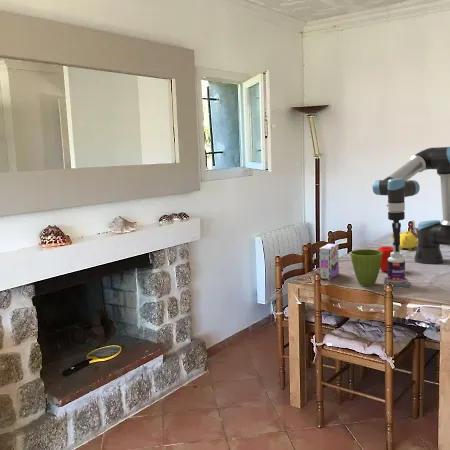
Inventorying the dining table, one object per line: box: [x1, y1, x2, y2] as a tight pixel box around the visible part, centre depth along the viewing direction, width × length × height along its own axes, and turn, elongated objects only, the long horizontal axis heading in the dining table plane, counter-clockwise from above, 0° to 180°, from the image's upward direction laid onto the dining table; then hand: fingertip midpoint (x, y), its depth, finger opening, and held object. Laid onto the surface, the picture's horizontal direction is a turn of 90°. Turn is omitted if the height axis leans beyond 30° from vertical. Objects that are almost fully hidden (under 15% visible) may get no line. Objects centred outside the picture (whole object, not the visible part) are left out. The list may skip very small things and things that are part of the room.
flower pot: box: [350, 248, 382, 287], centre depth 248 cm, size 15×15×16 cm
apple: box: [377, 246, 393, 272], centre depth 271 cm, size 12×12×13 cm
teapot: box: [390, 230, 418, 251], centre depth 324 cm, size 20×18×11 cm
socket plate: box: [383, 276, 410, 289], centre depth 246 cm, size 11×11×2 cm
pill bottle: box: [386, 251, 406, 283], centre depth 245 cm, size 8×8×14 cm
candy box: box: [318, 243, 340, 281], centre depth 265 cm, size 14×6×16 cm, turn 148°
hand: (396, 254), depth 244 cm, fingers open, 13 cm apart
